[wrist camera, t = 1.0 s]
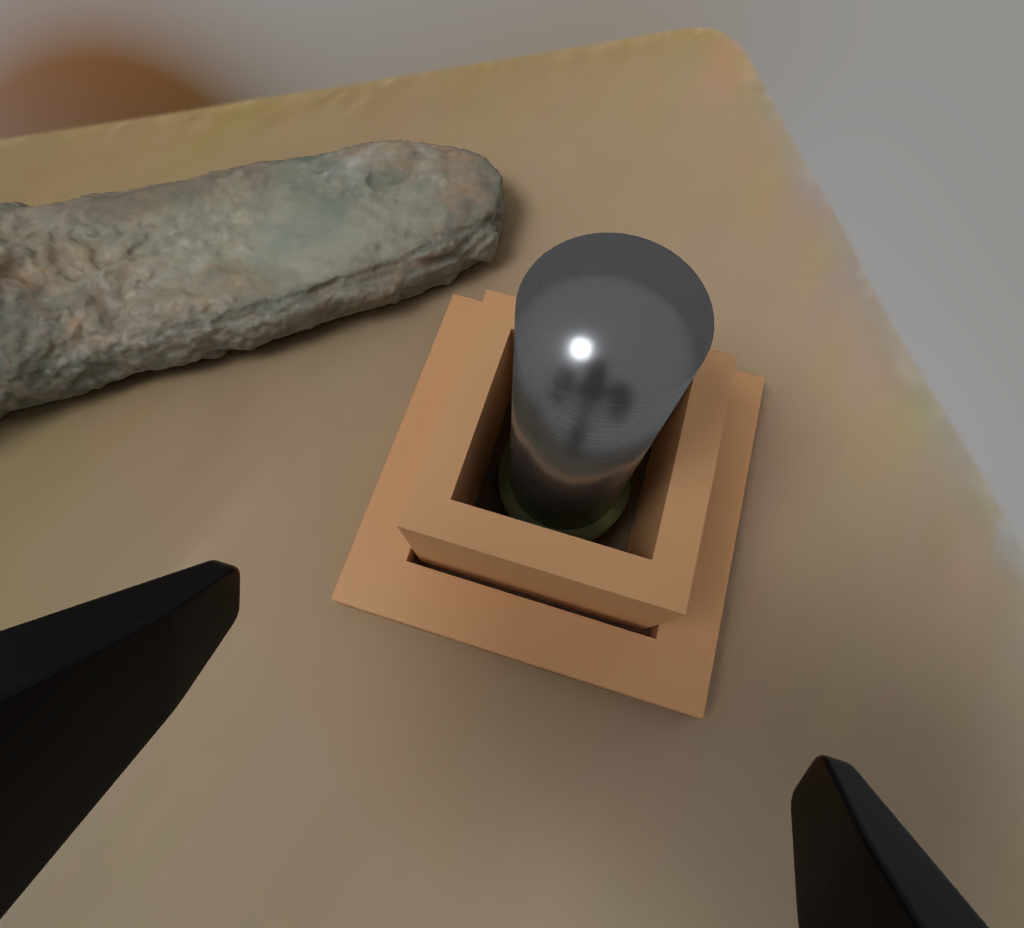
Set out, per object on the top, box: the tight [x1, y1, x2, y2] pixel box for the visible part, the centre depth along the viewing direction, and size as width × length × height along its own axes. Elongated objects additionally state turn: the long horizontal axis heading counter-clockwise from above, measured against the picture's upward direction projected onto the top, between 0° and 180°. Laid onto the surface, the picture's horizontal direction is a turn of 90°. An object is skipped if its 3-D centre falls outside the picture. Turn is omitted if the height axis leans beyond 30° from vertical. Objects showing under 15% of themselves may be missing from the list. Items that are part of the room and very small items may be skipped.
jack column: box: [498, 233, 714, 541], centre depth 18 cm, size 5×5×12 cm
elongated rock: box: [0, 140, 505, 420], centre depth 24 cm, size 35×5×10 cm
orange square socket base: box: [331, 289, 765, 719], centre depth 21 cm, size 13×13×6 cm
